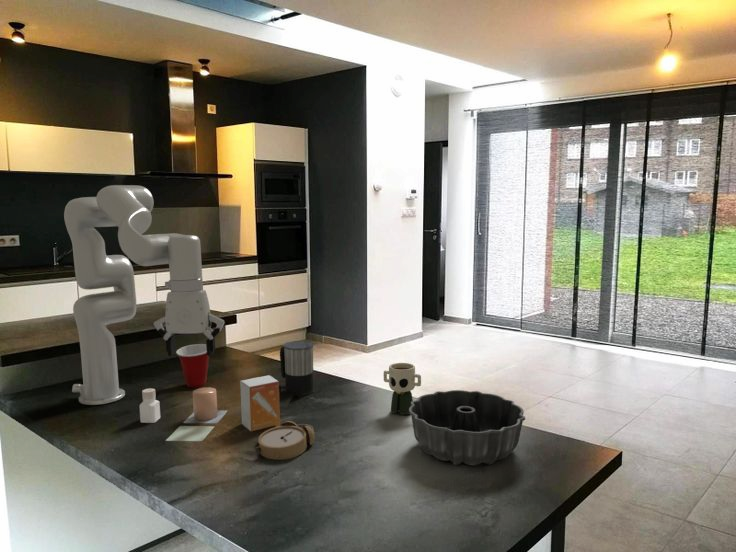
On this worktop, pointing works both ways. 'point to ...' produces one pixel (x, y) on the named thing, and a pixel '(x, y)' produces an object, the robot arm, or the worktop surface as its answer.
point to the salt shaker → (149, 407)
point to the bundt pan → (466, 426)
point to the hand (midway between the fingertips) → (191, 354)
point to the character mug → (402, 385)
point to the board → (194, 429)
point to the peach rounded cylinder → (205, 404)
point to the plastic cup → (194, 364)
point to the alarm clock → (286, 440)
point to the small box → (260, 402)
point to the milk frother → (297, 367)
